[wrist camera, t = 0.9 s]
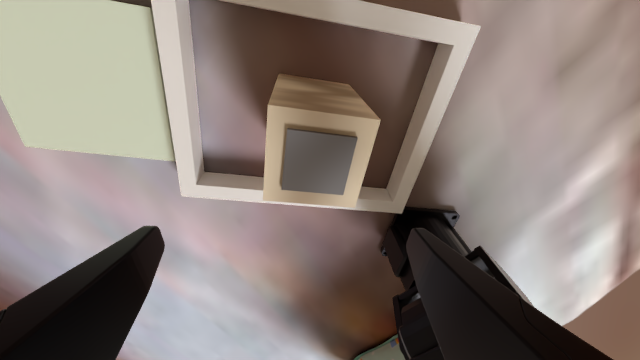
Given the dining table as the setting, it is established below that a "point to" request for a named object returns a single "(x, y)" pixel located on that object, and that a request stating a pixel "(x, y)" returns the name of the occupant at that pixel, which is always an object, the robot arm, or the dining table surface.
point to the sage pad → (84, 77)
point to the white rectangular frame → (332, 6)
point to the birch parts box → (316, 142)
